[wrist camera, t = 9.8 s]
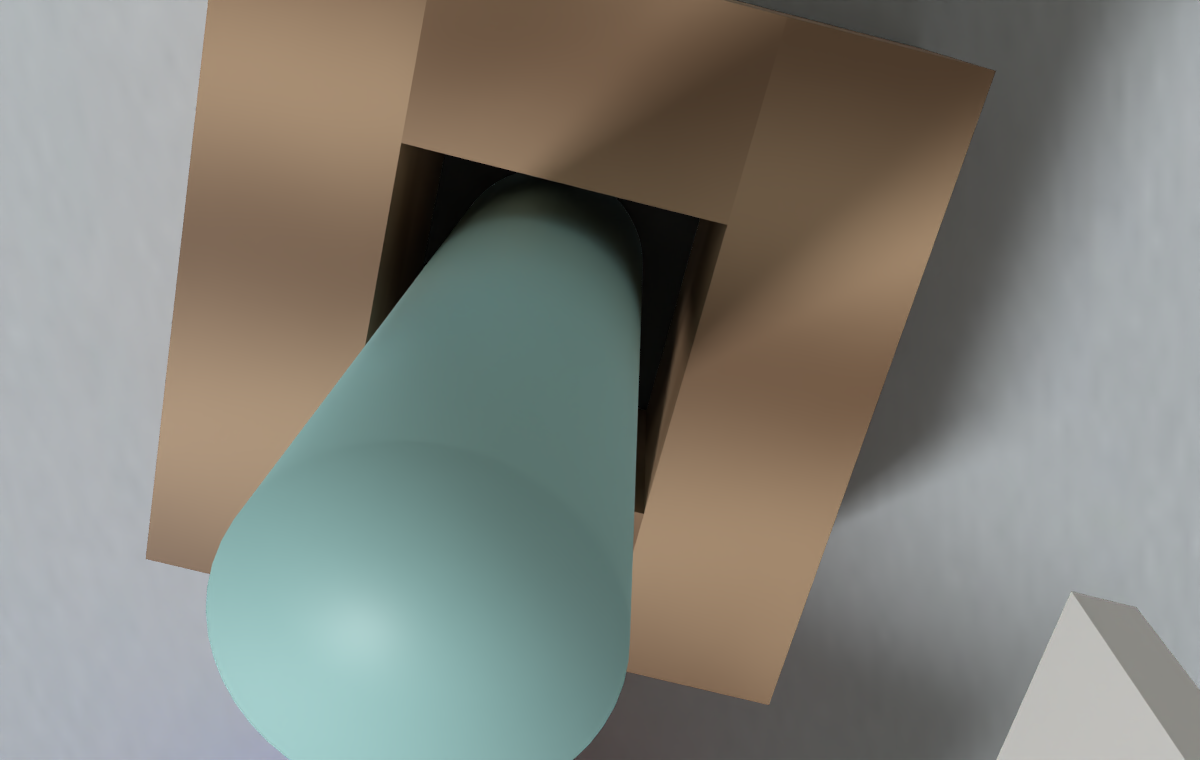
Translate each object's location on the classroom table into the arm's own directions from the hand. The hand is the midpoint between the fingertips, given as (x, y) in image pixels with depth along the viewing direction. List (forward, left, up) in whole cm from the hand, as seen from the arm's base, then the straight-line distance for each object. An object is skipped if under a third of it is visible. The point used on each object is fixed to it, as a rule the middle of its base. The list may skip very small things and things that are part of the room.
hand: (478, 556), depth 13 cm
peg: (0, 0, -12) cm, 12 cm away
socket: (0, 0, -12) cm, 12 cm away
